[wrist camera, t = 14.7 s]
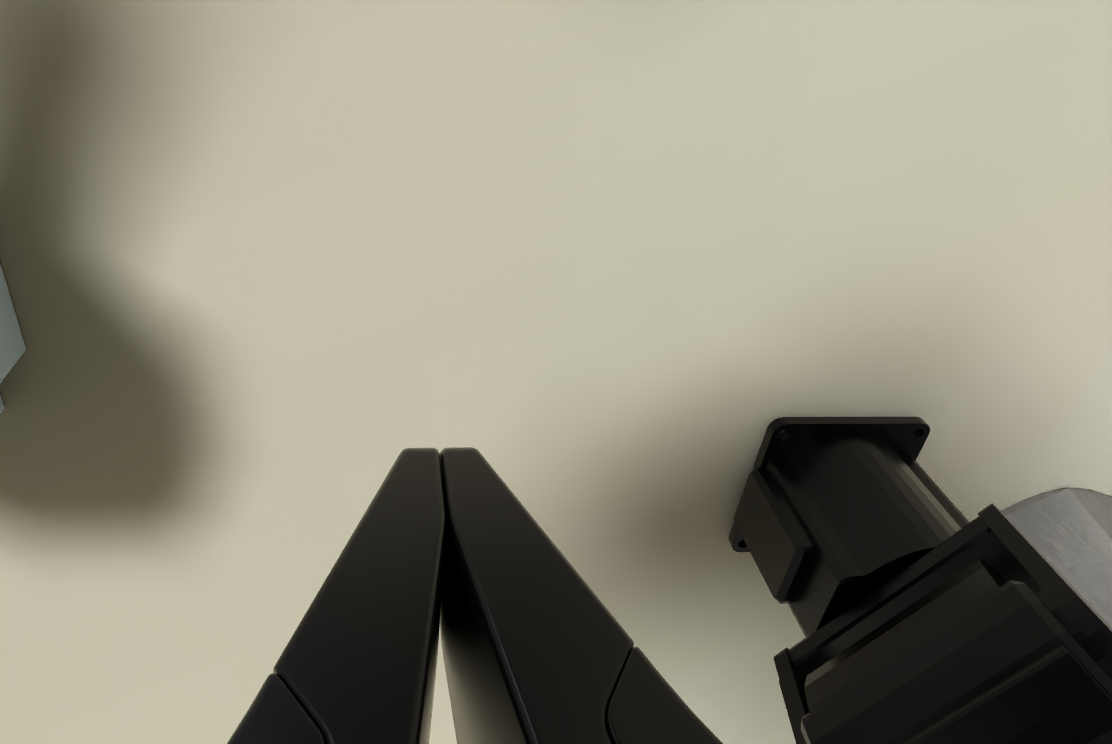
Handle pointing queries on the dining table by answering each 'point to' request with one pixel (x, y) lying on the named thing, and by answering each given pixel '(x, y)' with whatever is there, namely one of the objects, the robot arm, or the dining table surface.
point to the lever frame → (8, 334)
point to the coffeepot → (1072, 539)
